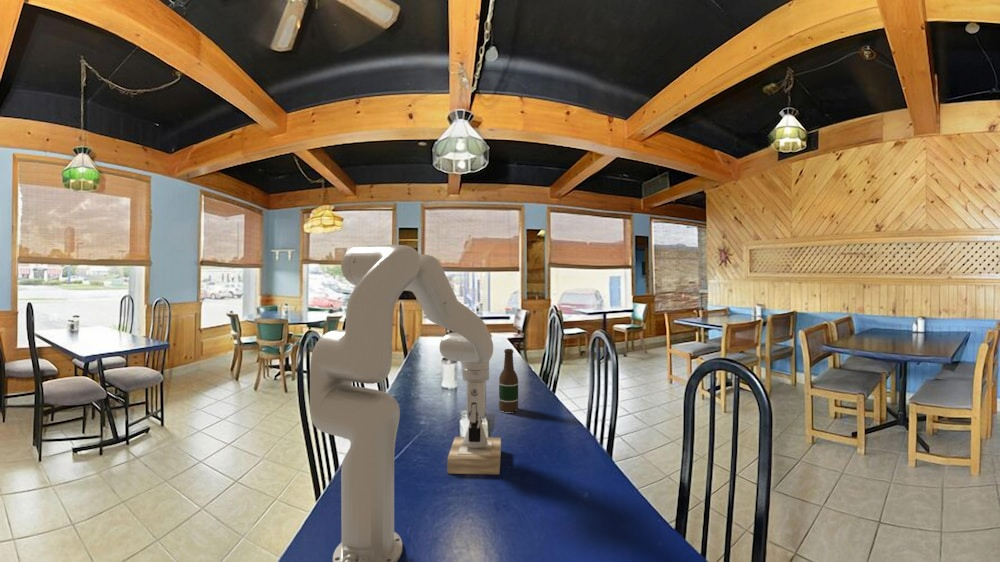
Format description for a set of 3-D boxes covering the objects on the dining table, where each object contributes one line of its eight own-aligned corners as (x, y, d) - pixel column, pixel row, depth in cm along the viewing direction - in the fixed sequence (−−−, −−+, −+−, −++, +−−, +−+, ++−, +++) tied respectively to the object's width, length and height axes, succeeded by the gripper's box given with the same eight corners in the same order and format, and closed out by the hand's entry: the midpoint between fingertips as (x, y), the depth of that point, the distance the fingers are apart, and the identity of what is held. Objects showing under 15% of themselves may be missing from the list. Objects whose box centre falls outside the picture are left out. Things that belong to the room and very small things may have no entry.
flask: (484, 450, 108) (484, 413, 108) (459, 447, 109) (459, 411, 109) (490, 439, 115) (490, 405, 115) (466, 437, 116) (466, 403, 116)
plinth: (499, 474, 105) (499, 458, 105) (447, 473, 106) (447, 457, 105) (500, 450, 119) (500, 437, 119) (454, 449, 120) (454, 436, 119)
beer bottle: (496, 412, 151) (496, 350, 151) (501, 406, 159) (502, 347, 158) (515, 414, 149) (515, 352, 149) (520, 408, 157) (520, 348, 156)
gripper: (487, 382, 103) (486, 451, 103) (490, 366, 120) (490, 426, 120) (458, 381, 103) (458, 450, 104) (466, 366, 120) (465, 425, 121)
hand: (475, 436), depth 112 cm, fingers closed on flask, 4 cm apart
